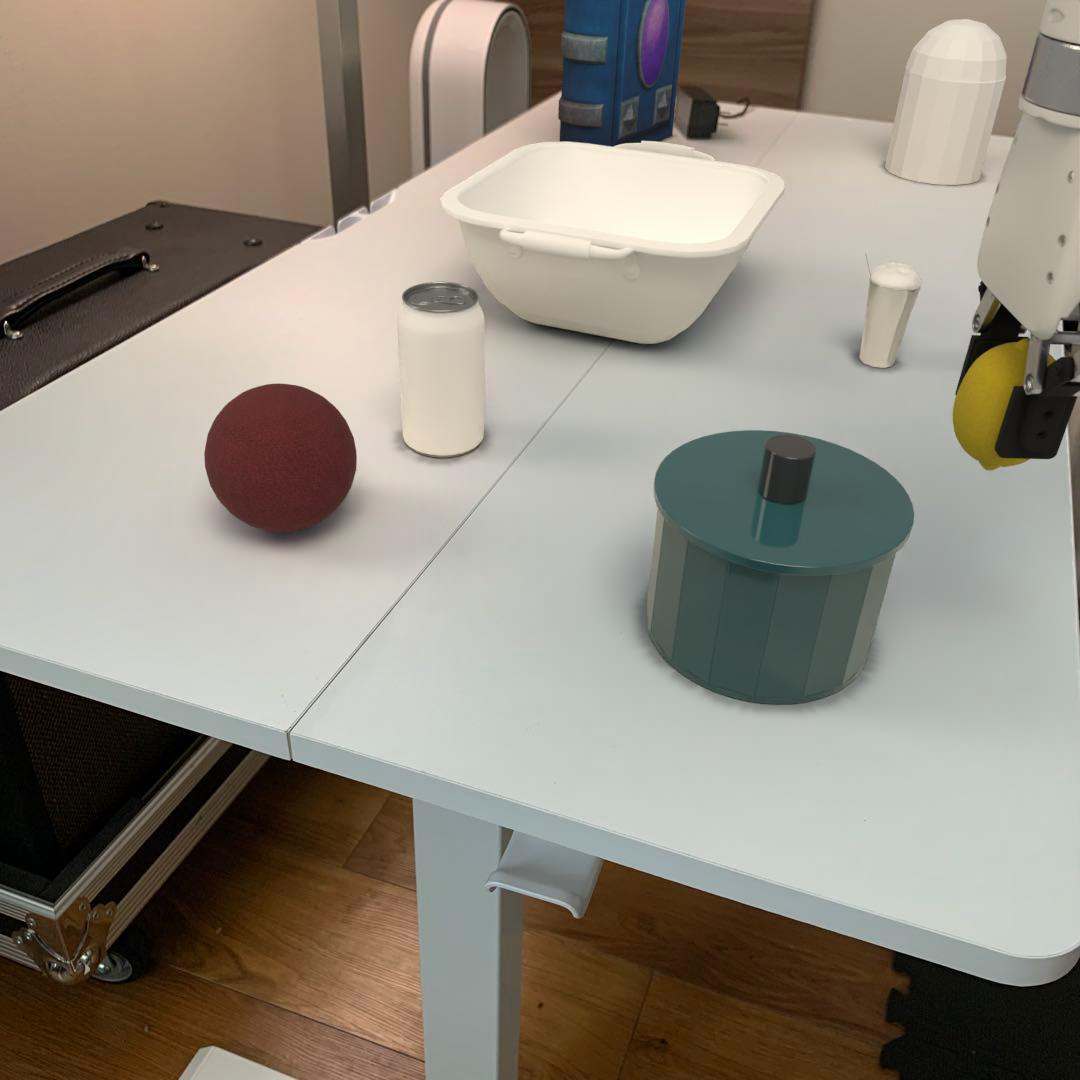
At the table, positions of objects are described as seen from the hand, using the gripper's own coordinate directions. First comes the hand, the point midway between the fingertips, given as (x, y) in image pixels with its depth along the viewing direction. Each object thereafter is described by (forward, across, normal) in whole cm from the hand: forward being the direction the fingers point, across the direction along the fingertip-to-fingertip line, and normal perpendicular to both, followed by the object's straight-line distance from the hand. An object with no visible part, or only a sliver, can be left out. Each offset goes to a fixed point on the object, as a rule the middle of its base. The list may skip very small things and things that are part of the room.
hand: (1003, 424), depth 60 cm
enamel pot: (+14, -1, +12) cm, 19 cm away
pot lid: (+5, -1, +12) cm, 13 cm away
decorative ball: (+14, +10, +43) cm, 46 cm away
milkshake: (+14, +39, -6) cm, 42 cm away
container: (+14, +104, -32) cm, 110 cm away
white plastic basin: (+14, +49, +18) cm, 54 cm away
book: (+14, +111, +13) cm, 113 cm away
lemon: (+3, 0, 0) cm, 3 cm away
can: (+14, +22, +33) cm, 42 cm away
